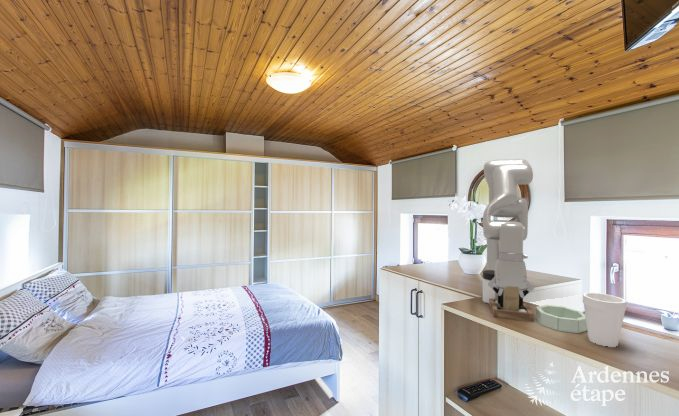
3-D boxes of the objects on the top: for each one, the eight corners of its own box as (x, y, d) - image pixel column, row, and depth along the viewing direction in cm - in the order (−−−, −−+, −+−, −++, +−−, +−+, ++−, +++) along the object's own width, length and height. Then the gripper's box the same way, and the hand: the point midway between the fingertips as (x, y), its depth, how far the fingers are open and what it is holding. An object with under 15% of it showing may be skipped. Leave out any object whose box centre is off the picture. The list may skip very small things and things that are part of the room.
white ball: (516, 315, 107) (516, 307, 107) (526, 316, 106) (526, 308, 106) (518, 318, 104) (518, 310, 104) (528, 319, 103) (528, 311, 103)
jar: (509, 302, 121) (509, 272, 121) (500, 306, 116) (500, 275, 116) (486, 296, 128) (487, 268, 128) (477, 300, 123) (477, 271, 123)
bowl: (532, 314, 108) (533, 303, 108) (576, 319, 104) (576, 307, 104) (543, 328, 96) (543, 316, 96) (593, 335, 92) (593, 322, 92)
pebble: (493, 306, 117) (493, 298, 116) (501, 307, 116) (502, 299, 115) (494, 308, 114) (495, 300, 114) (503, 310, 113) (503, 302, 113)
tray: (489, 305, 118) (489, 298, 118) (524, 308, 114) (524, 302, 114) (494, 317, 106) (494, 310, 106) (533, 321, 102) (533, 314, 102)
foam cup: (629, 353, 81) (630, 305, 81) (585, 344, 86) (586, 299, 85) (619, 339, 89) (621, 295, 89) (580, 332, 94) (580, 290, 94)
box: (502, 313, 109) (503, 283, 109) (500, 309, 113) (501, 280, 113) (519, 315, 107) (519, 284, 107) (517, 311, 111) (517, 281, 111)
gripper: (535, 256, 110) (534, 306, 111) (483, 253, 116) (483, 300, 116) (541, 260, 103) (540, 313, 103) (486, 257, 109) (485, 307, 109)
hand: (509, 306), depth 110 cm, fingers closed on box, 5 cm apart
